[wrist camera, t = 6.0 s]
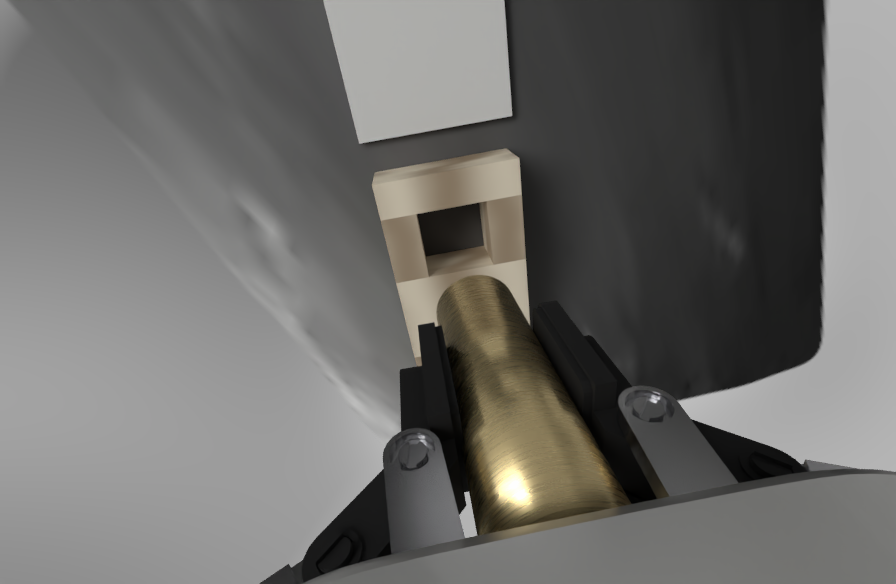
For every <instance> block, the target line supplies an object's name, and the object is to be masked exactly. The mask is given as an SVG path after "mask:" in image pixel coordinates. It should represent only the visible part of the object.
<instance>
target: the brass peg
mask: <svg viewBox="0 0 896 584" xmlns="http://www.w3.org/2000/svg"><path fill="white" fill-rule="evenodd" d="M436 316H437V322H438V326H441V325H442V329H443V334H444V339H445V344H446V349H447V354H448V359H449V364H450V368H451V373H452V378H453V383H454V388H455V393H456V398H457V403H458V408H459V414H460V420H461V426H462V432H463V439H464V443H463V448H462V454H463V461H464V466H465V471H466V477H467V482H468V487H469V493H470V498H471V503H472V509H473V514H474V519H475V525H476V530H477V535H478V536H479V535H484V534H488V533H493V532H498V531H503V530H508V529H512V528H517V527H522V526H527V525H532V524H537V523H541V522H546V521H551V520H556V519H561V518H566V517H571V516H576V515H581V514H586V513H591V512H595V511H600V510H605V509H610V508H615V507H620V506H625V505H630V504H631V502H630V500H629V499H628V497H627V495H626V493H625V492H624V490H623V488H622V486H621V485H620V483H619V481H618V479H617V478H616V476H615V474H614V472H613V471H612V469H611V467H610V465H609V464H608V462H607V460H606V458H605V456H604V455H603V453H602V451H601V449H600V448H599V446H598V444H597V442H596V441H595V439H594V437H593V435H592V434H591V432H590V430H589V428H588V427H587V425H586V423H585V421H584V420H583V418H582V416H581V414H580V413H579V411H578V409H577V407H576V406H575V404H574V402H573V400H572V398H571V397H570V395H569V393H568V391H567V390H566V388H565V386H564V384H563V383H562V381H561V379H560V377H559V376H558V374H557V372H556V370H555V369H554V367H553V365H552V363H551V362H550V360H549V358H548V356H547V355H546V353H545V351H544V349H543V348H542V346H541V344H540V342H539V340H538V339H537V337H536V335H535V333H534V332H533V330H532V328H531V326H530V325H529V323H528V321H527V319H526V318H525V316H524V314H523V312H522V311H521V309H520V307H519V305H518V304H517V302H516V300H515V298H514V297H513V295H512V293H511V291H510V290H509V288H508V287H507V286H506V285H505V284H504V283H503V282H501V281H500V280H498V279H496V278H494V277H491V276H486V275H472V276H468V277H464V278H462V279H460V280H458V281H456V282H454V283H453V284H451V285H450V286H449V287H448V288H447V289H446V290H445V291H444V292H443V294H442V295H441V297H440V299H439V301H438V304H437V309H436Z"/></svg>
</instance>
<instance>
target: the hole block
mask: <svg viewBox="0 0 896 584" xmlns="http://www.w3.org/2000/svg"><path fill="white" fill-rule="evenodd" d="M372 187H373V191H374V195H375V199H376V203H377V207H378V211H379V215H380V219H381V223H382V227H383V231H384V236H385V240H386V244H387V248H388V252H389V256H390V260H391V264H392V268H393V272H394V276H395V280H396V284H397V288H398V292H399V296H400V300H401V304H402V308H403V312H404V316H405V320H406V324H407V328H408V332H409V336H410V340H411V344H412V348H413V352H414V356H415V360H416V364H417V366H422V362H421V352H420V342H419V333H418V325H421V324H427V323H432V322H434V323H435V327H436V326H438V322H437V316H436V309H437V304H438V301H439V299H440V297H441V295H442V294H443V292H444V291H445V290H446V289H447V288H448V287H449V286H450V285H451V284H453V283H454V282H456V281H458V280H460V279H462V278H464V277H468V276H472V275H486V276H491V277H494V278H496V279H498V280H500V281H501V282H503V283H504V284H505V285H506V286H507V287H508V288H509V290H510V291H511V293H512V295H513V297H514V298H515V300H516V302H517V304H518V305H519V307H520V309H521V311H522V312H523V314H524V316H525V318H526V319H527V321H528V323H529V325H530V316H529V300H528V284H527V269H526V253H525V238H524V222H523V206H522V191H521V175H520V160H519V157H517V156H516V155H514V154H513V153H512V152H510V151H509V150H507V149H506V148H505V149H500V150H494V151H489V152H484V153H478V154H473V155H467V156H462V157H456V158H451V159H445V160H440V161H434V162H429V163H423V164H418V165H412V166H407V167H402V168H396V169H391V170H385V171H380V172H375V174H374V179H373V183H372ZM474 203H479V207H480V215H481V224H482V232H483V241H484V246H479V247H474V248H469V249H463V250H458V251H453V252H447V253H442V254H437V255H431V256H426V255H425V250H424V245H423V240H422V235H421V230H420V225H419V220H418V215H417V214H420V213H425V212H431V211H436V210H442V209H447V208H452V207H458V206H463V205H468V204H474Z"/></svg>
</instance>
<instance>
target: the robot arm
mask: <svg viewBox="0 0 896 584" xmlns="http://www.w3.org/2000/svg"><path fill="white" fill-rule="evenodd" d="M533 332H534V333H535V335H536V337H537V339H538V340H539V342H540V344H541V346H542V348H543V349H544V351H545V353H546V355H547V356H548V358H549V360H550V362H551V363H552V365H553V367H554V369H555V370H556V372H557V374H558V376H559V377H560V379H561V381H562V383H563V384H564V386H565V388H566V390H567V391H568V393H569V395H570V397H571V398H572V400H573V402H574V404H575V406H576V407H577V409H578V411H579V413H580V414H581V416H582V418H583V420H584V421H585V423H586V425H587V427H588V428H589V430H590V432H591V434H592V435H593V437H594V439H595V441H596V442H597V444H598V446H599V448H600V449H601V451H602V453H603V455H604V456H605V458H606V460H607V462H608V464H609V465H610V467H611V469H612V471H613V472H614V474H615V476H616V478H617V479H618V481H619V483H620V485H621V486H622V488H623V490H624V492H625V493H626V495H627V497H628V499H629V500H630V502H631V504H630V505H625V506H620V507H615V508H610V509H605V510H600V511H595V512H591V513H586V514H581V515H576V516H571V517H566V518H561V519H556V520H551V521H546V522H541V523H537V524H532V525H527V526H522V527H517V528H512V529H508V530H503V531H498V532H493V533H488V534H484V535H479V536H475V537H470V538H465V537H464V532H463V529H462V525H461V521H460V517H459V514H460V513H461V512H462V510H463V509H464V508H465V506H466V501H465V496H464V492H468V491H469V487H468V482H467V477H466V471H465V466H464V461H463V454H462V448H463V443H464V439H463V432H462V426H461V420H460V414H459V408H458V403H457V398H456V393H455V388H454V383H453V378H452V373H451V368H450V364H449V359H448V354H447V349H446V344H445V339H444V334H443V329H442V325H441V326H436V327H435V323H434V322H432V323H427V324H421V325H418V333H419V342H420V352H421V362H422V366H417V367H412V368H406V369H401V370H400V398H401V432H400V433H398V434H397V435H395V436H394V437H392V439H391V440H390V441H389V442H388V443H387V445H386V447H385V449H384V452H383V466H384V469H383V470H382V471H381V472H380V473H379V474H378V475H377V476H376V477H375V478H374V479H373V480H372V481H371V482H370V483H369V484H368V485H367V486H366V487H365V489H364V490H363V491H362V492H361V493H360V494H359V495H358V496H357V497H356V498H355V499H354V500H353V501H352V502H351V503H350V504H349V505H348V506H347V507H346V508H345V509H344V510H343V511H342V512H341V513H340V514H339V515H338V516H337V517H336V518H335V519H334V520H333V521H332V522H331V523H330V524H329V526H327V528H326V529H325V530H324V531H323V532H322V533H321V534H320V535H319V536H318V537H317V538H316V539H315V540H314V542H313V543H312V544H311V546H310V547H309V548H308V550H307V552H306V555H305V557H304V559H303V560H302V561H301V562H299V563H298V564H296V565H295V566H294V567H292V568H291V567H290V565H289V564H288V565H286V566H285V567H283V568H282V569H280V570H279V571H277V572H276V573H274V574H273V575H271V576H270V577H269V578H267V579H266V580H264V581H263V582H261V583H260V584H896V472H891V471H883V470H873V469H856V468H850V467H845V466H839V465H833V464H827V463H822V462H816V461H810V460H805V462H804V464H800V463H799V462H797V461H796V460H795V459H794V458H792V457H791V456H789V455H788V454H786V453H784V452H782V451H780V450H778V449H775V448H773V447H770V446H768V445H765V444H761V443H759V442H756V441H753V440H750V439H747V438H744V437H741V436H738V435H735V434H732V433H729V432H727V431H724V430H721V429H718V428H715V427H712V426H709V425H706V424H703V423H700V422H697V421H695V420H692V419H690V417H689V416H688V415H687V414H686V412H685V411H684V410H683V408H682V407H681V405H680V404H679V403H678V402H677V401H676V400H675V399H674V398H673V397H672V396H671V395H669V394H668V393H666V392H665V391H662V390H660V389H657V388H654V387H649V386H634V387H632V386H631V385H630V383H629V382H628V381H627V380H626V378H625V377H624V376H623V375H622V373H621V372H620V371H619V369H618V368H617V367H616V366H615V364H614V363H613V362H612V361H611V359H610V358H609V357H608V356H607V354H606V353H605V352H604V350H603V349H602V348H601V347H600V345H599V344H598V343H597V342H596V340H595V339H594V338H593V337H592V336H589V335H588V336H583V335H582V333H581V332H580V331H579V329H578V328H577V327H576V325H575V324H574V323H573V322H572V320H571V319H570V318H569V316H568V315H567V314H566V312H565V311H564V310H563V308H562V307H561V306H560V304H559V303H558V302H557V301H551V302H546V303H540V304H539V305H538V308H537V309H533Z"/></svg>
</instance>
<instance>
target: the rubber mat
mask: <svg viewBox="0 0 896 584" xmlns="http://www.w3.org/2000/svg"><path fill="white" fill-rule="evenodd" d="M323 1H324V5H325V9H326V13H327V17H328V21H329V25H330V29H331V33H332V37H333V41H334V45H335V49H336V53H337V57H338V61H339V65H340V69H341V73H342V77H343V81H344V85H345V88H346V92H347V96H348V100H349V104H350V108H351V112H352V116H353V120H354V124H355V128H356V132H357V136H358V140H359V144H361V143H366V142H372V141H377V140H383V139H388V138H394V137H399V136H405V135H410V134H416V133H421V132H427V131H432V130H438V129H444V128H449V127H455V126H460V125H466V124H471V123H477V122H482V121H488V120H493V119H499V118H504V117H510V116H512V104H511V90H510V75H509V61H508V46H507V32H506V17H505V3H504V0H323Z"/></svg>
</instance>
